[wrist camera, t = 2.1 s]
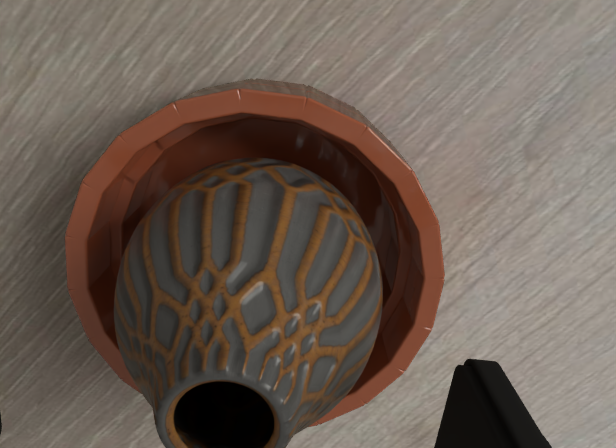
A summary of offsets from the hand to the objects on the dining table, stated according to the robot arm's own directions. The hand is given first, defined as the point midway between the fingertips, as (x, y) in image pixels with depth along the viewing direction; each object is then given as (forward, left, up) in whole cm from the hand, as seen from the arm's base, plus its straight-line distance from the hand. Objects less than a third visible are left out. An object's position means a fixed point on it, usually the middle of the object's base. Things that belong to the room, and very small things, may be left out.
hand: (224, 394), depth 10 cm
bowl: (0, 0, -8) cm, 8 cm away
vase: (0, 0, -8) cm, 8 cm away
